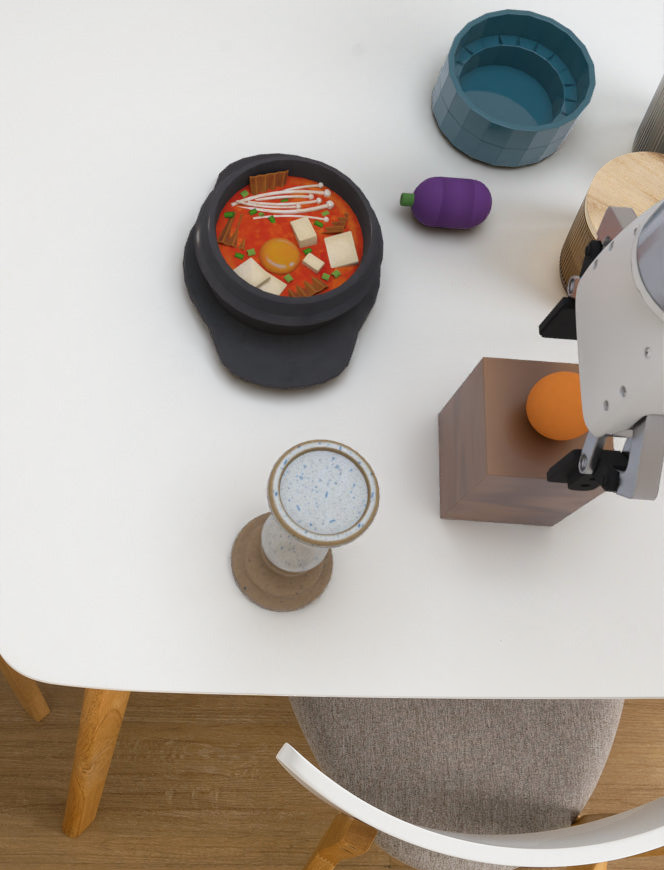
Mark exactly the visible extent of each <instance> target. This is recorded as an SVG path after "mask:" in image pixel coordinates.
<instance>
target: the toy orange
mask: <svg viewBox="0 0 664 870" xmlns="http://www.w3.org/2000/svg"><path fill="white" fill-rule="evenodd" d="M526 412H527V416H528V419H529V421H530V423H531V425H532V426H533V428H534V429H535V430H536V431H537V432H539V433H540V434H541V435H543V436H545V437H547V438H550V439H554V440H571V439H574V438H577V437H579V436H581V435H583V434H585V433H586V432H587V431H589V430H588V428H587V426H586V424H585V421H584V417H583V411H582V401H581V389H580V376H579V374H577V373H574V372H564V371H562V372H556V373H552V374H549V375H547V376H545V377H544V378H542V379H541V380H539V381H538V382H537V383H536V384H535V385H534V387H533V388H532V389H531V391H530V393H529V395H528V398H527V403H526Z"/></svg>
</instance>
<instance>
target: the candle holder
mask: <svg viewBox="0 0 664 870" xmlns="http://www.w3.org/2000/svg"><path fill="white" fill-rule="evenodd" d="M380 498H381V495H380V486H379V482H378V479H377V476H376V474H375V471H374V469H373V468H372V466H371V465H370V463H369V462H368V461H367V460H366V459H365V457H364V456H362V455H361V454H360V453H359V452H358V451H357V450H355V449H354V448H352V447H351V446H349V445H346V444H344V443H342V442H339V441H335V440H331V439H311V440H306V441H302V442H300V443H297V444H295V445H293V446H292V447H290V448H288V449H287V450H286V451H284V452H283V453H282V454H281V455H280V456H279V457H278V459H277V460H276V461H275V463H274V464H273V465H272V468H271V470H270V473H269V476H268V478H267V484H266V500H267V505H268V509H269V512H265V513H263V514H260V515H258V516H256V517H254V518H253V519H251V520H249V521H248V522H247V523H246V524H245V525H244V526H243V527H242V528H241V530H240V531H239V532H238V534H237V536H236V537H235V540H234V542H233V545H232V549H231V553H230V565H231V573H232V575H233V578H234V581H235V582H236V584H237V586H238V588H239V590H240V591H241V592H242V593H243V595H245V597H247V598H248V599H249V600H250V601H252V602H253V603H254V604H256V605H258V606H260V607H262V608H264V609H266V610H269V611H275V612H293V611H297V610H300V609H302V608H305V607H307V606H309V605H311V604H312V603H313V602H315V601H316V600H317V599H318V598H320V597H321V595H322V594H323V593H324V592H325V590H326V589H327V587H328V585H329V582H330V581H331V577H332V574H333V569H334V568H333V567H334V557H333V551H332V549H334V548H340V547H344V546H346V545H349V544H350V543H353V542H354V541H356V540H358V539H360V537H362V536H363V535H364V534H365V533H366V531H367V530H369V528H370V527H371V526H372V524H373V523H374V520H376V519H375V518H376V516H377V514H378V511H379V507H380Z"/></svg>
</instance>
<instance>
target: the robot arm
mask: <svg viewBox="0 0 664 870" xmlns="http://www.w3.org/2000/svg"><path fill="white" fill-rule="evenodd" d="M596 236H597V237H596V239H591V240H590V241H589V242H588V244H587V245H586V246H585V248H584V257H583V262H582V264H581V269H580V272H579V275H571V276H570V278H569V280H568V282H567V287H566V292H567V296H562V298H561V299H560V300H559V301H558V302H557V304H556V305H555V306H554V307H553V308H552V309H551V311H549V313H548V314H547V316H545V318H544V319H543V320H542V321H541V322H540V323H539V325H538V334H539V336H540V337H541V338H542V339H543V338H544V339H556V340H569V341H576V344H577V346H576V347H577V360H578V361H577V362H578V364H579V376H580V389H581V401H582V411H583V417H584V421H585V424H586V426H587V428H588V430H589V432H588V435H587V437H586V440H585V443H584V446H583V449H574V450H572V451H571V452H569V453H568V454H567V455H566V456H564V457H563V458H562V459H561V460H559V461H558V462H557V463H556V464H554V465H553V466H552V467H551V468H549V471H548V472H547V481H548V482H554V483H568V489H570V490H575V491H590V490H594V489H596V488H597V487H599V486H601V487H602V488H603V489H604V490H605V492H607V493H614V494H616V495H617V496H620V497H623V498H626V499H628V500H641V501H655V500H656V499H657V498H658V494H659V491H660V484H661V478H662V472H663V465H664V198H662V199H661V200H659V201H657V202H656V203H655V204H653V205H651V206H649V208H647V209H646V210H645V211H644V212H642V213H641V214H639V215H637V213H636V212H635V210H634V209H633V207H628V206H627V207H626V206H614V205H610V206H608V207H607V208H606V210H605V211H604V215H603V217H602V219H601V222H600V224H599V227H598V228H597V231H596ZM607 436H608V437H613V438H622V439H623V438H624V439H626V440H625V442H624V445H623V447H622V450H615V449H614V450H603V448H604V445H605V442H606V439H607Z"/></svg>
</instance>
